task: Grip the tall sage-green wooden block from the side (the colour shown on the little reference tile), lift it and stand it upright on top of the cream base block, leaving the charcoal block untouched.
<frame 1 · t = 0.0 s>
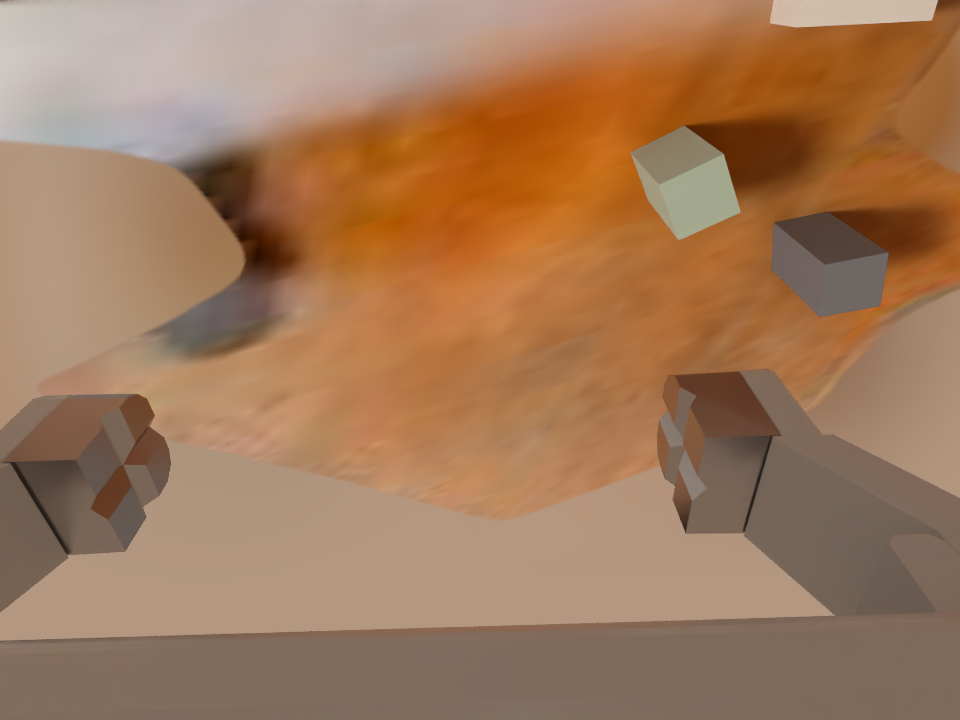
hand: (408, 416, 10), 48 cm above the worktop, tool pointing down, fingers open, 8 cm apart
sage block: (665, 164, 55), on the worktop
charcoal block: (799, 241, 59), on the worktop
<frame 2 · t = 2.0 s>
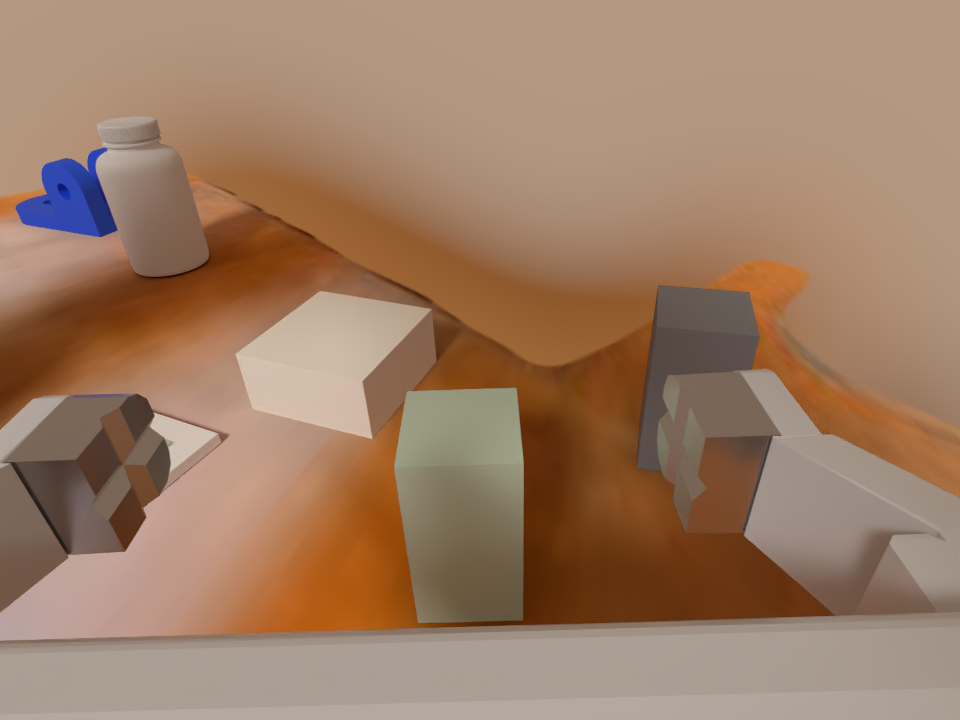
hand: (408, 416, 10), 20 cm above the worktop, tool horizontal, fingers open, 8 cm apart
bracket: (82, 221, 81), on the worktop
pill bottle: (173, 265, 67), on the worktop
reference tile: (128, 465, 39), on the worktop
sage block: (470, 577, 31), on the worktop
cream base block: (349, 387, 46), on the worktop
charcoal block: (678, 447, 38), on the worktop
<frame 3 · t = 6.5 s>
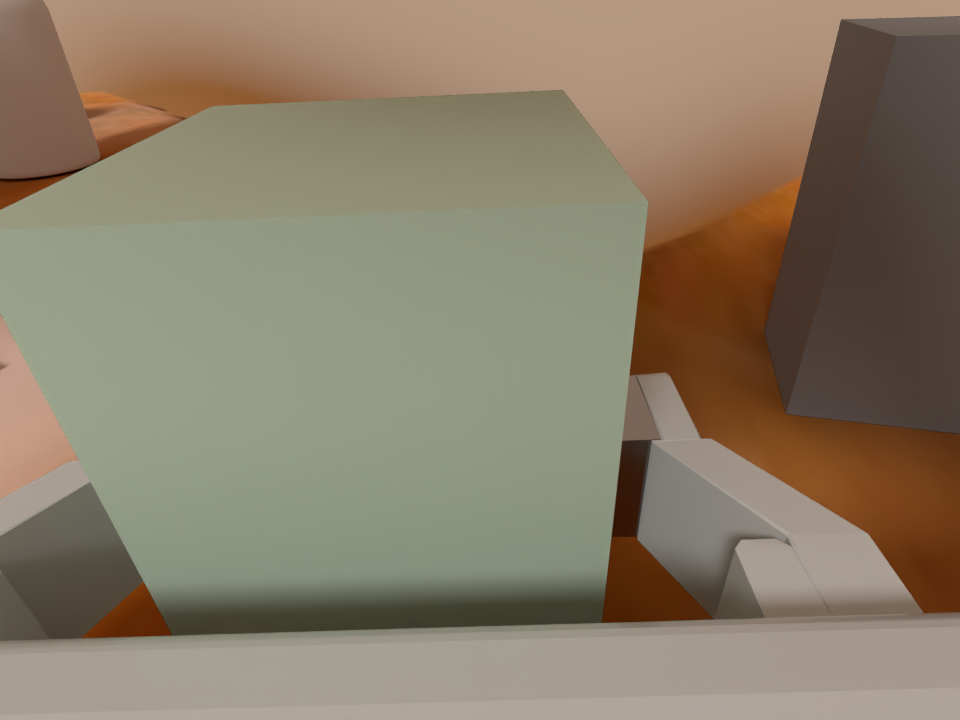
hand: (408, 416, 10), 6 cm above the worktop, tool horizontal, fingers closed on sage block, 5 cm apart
pill bottle: (49, 170, 48), on the worktop
sage block: (434, 667, 12), on the worktop, touching gripper
charcoal block: (857, 377, 19), on the worktop
when the fingers open (12 cm above the worktop, at t = 12.3 s): sage block drops 2 cm, resting on cream base block.
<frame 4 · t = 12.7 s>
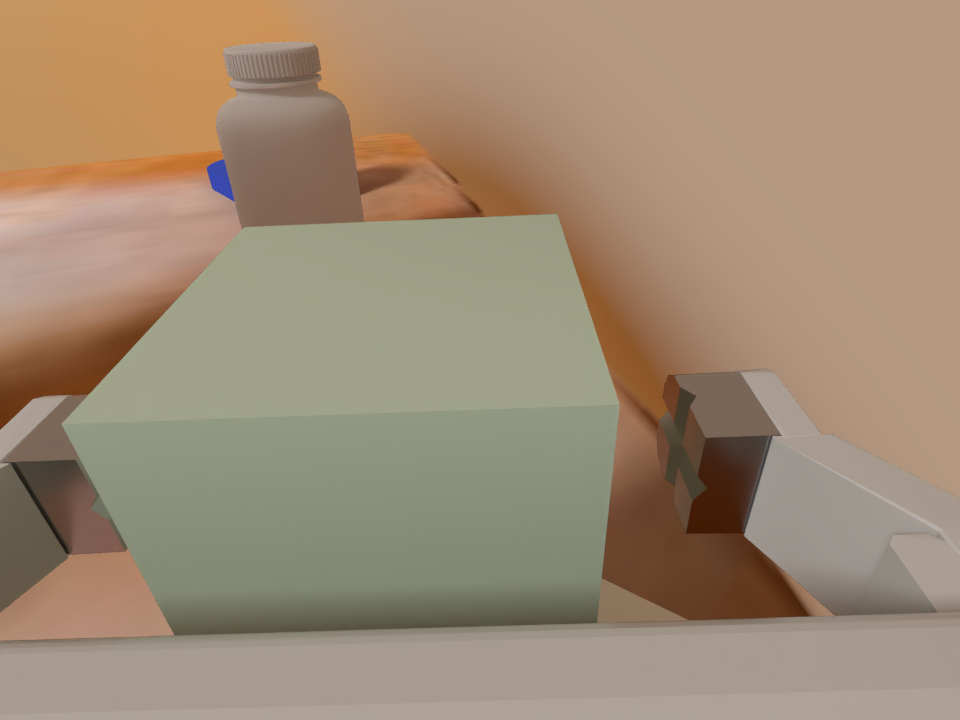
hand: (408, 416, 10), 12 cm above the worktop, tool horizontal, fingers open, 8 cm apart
bracket: (271, 193, 63), on the worktop
pill bottle: (317, 284, 43), on the worktop
sage block: (440, 711, 13), point 5 cm above the worktop, touching cream base block
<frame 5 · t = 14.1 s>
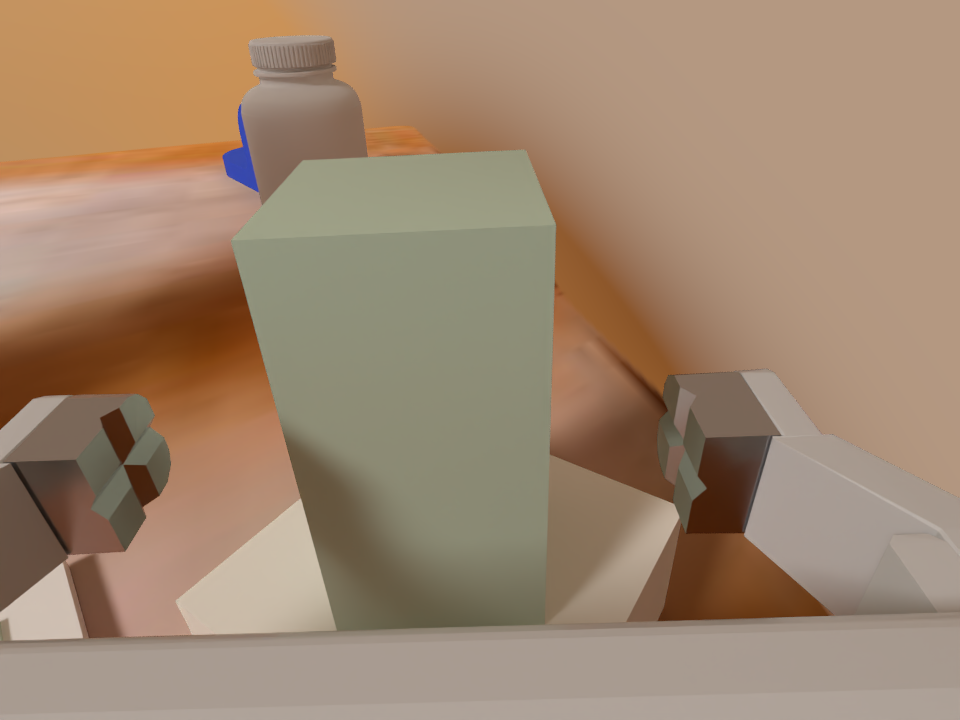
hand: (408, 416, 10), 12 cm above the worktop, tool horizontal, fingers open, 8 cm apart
bracket: (283, 180, 66), on the worktop
pill bottle: (329, 259, 47), on the worktop
sage block: (443, 547, 17), point 5 cm above the worktop, touching cream base block
cream base block: (456, 655, 19), on the worktop, touching sage block
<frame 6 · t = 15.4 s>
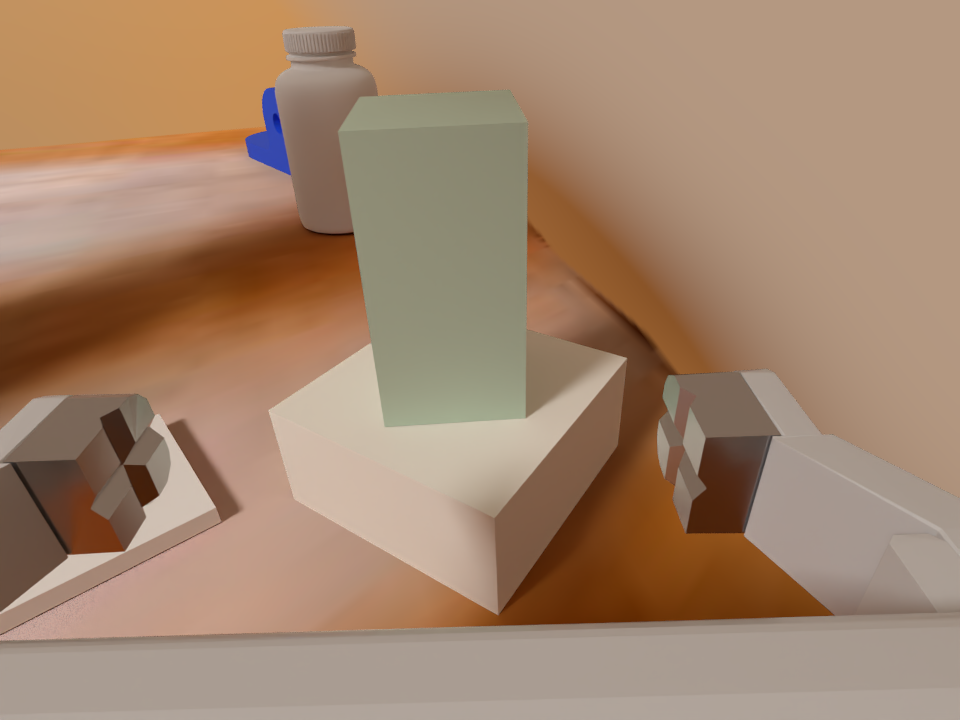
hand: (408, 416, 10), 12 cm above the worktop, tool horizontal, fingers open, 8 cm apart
bracket: (300, 161, 73), on the worktop
pill bottle: (347, 222, 53), on the worktop
reference tile: (89, 514, 24), on the worktop
sage block: (454, 381, 23), point 5 cm above the worktop
cream base block: (462, 477, 26), on the worktop
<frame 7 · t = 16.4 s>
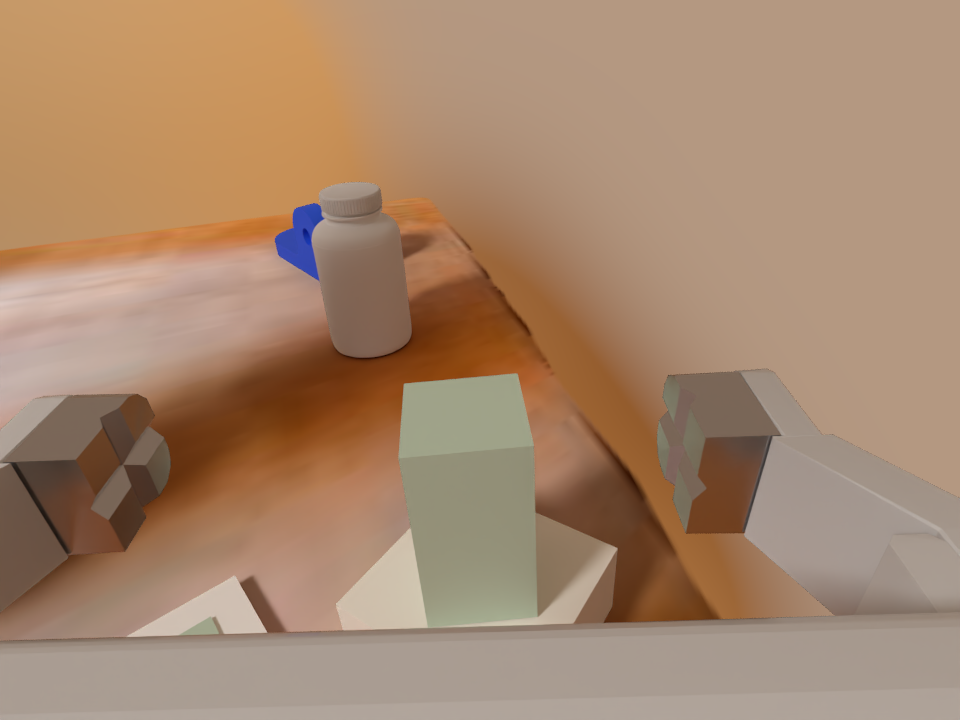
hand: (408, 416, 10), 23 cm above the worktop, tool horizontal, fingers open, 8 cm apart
bracket: (325, 260, 80), on the worktop
pill bottle: (373, 341, 60), on the worktop
reference tile: (189, 677, 31), on the worktop
sage block: (479, 576, 29), point 5 cm above the worktop
cream base block: (486, 636, 32), on the worktop
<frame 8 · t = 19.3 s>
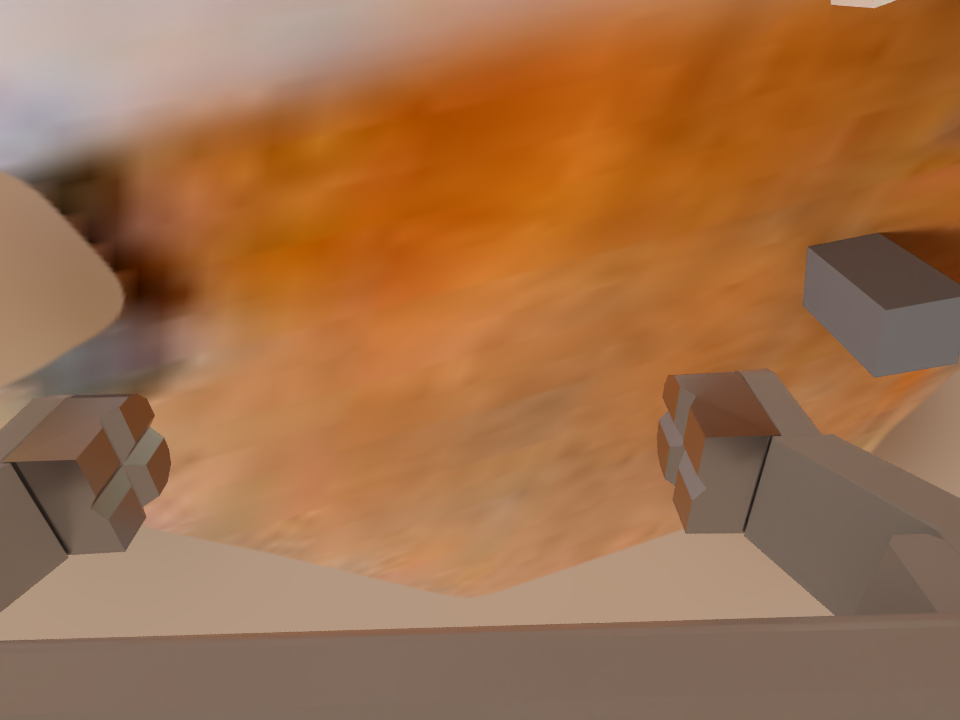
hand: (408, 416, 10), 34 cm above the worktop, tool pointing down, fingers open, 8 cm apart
charcoal block: (839, 270, 45), on the worktop
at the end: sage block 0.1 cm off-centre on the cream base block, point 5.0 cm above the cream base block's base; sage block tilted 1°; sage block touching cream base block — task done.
